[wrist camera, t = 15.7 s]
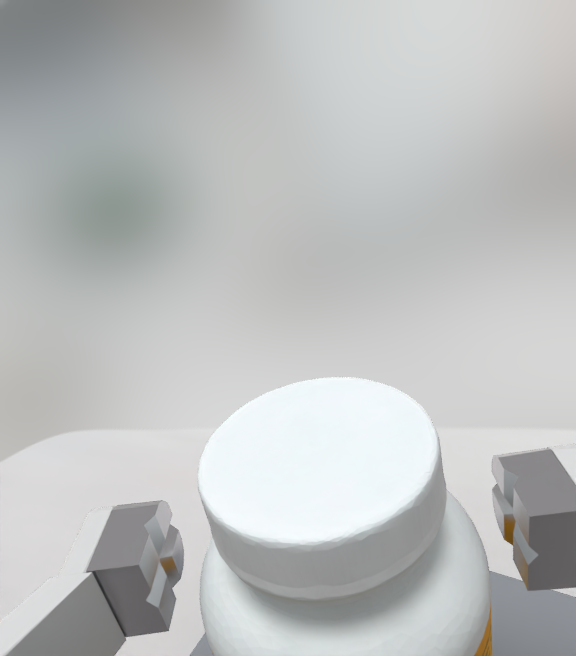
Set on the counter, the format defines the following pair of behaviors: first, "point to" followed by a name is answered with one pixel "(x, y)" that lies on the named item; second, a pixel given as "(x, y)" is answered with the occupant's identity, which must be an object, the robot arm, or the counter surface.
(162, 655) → the counter surface
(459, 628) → the supplement bottle
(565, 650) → the slate mat
